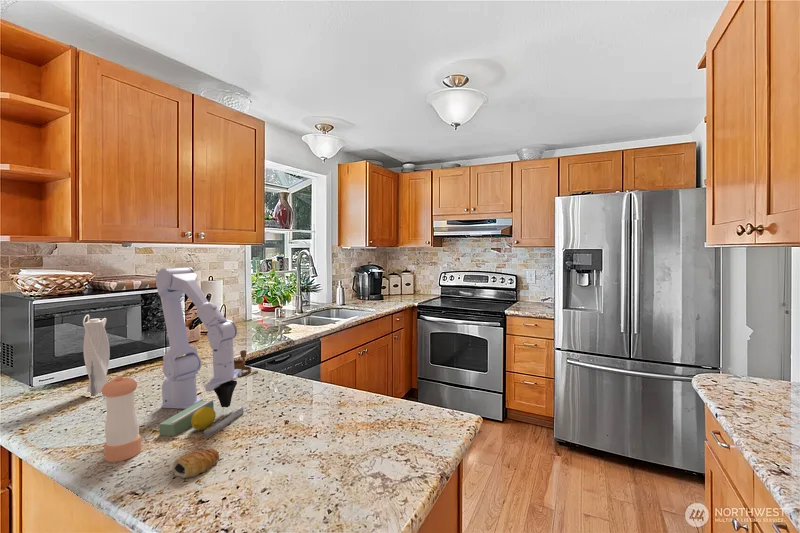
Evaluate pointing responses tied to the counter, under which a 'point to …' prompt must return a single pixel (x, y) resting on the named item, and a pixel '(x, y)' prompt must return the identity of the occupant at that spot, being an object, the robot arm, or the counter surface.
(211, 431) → the rail
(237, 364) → the place setting
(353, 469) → the counter surface
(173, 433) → the pale green rectangular bar
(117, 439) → the salt shaker
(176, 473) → the pastry
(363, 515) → the counter surface
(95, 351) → the beige tall twisted piece
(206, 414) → the lemon
